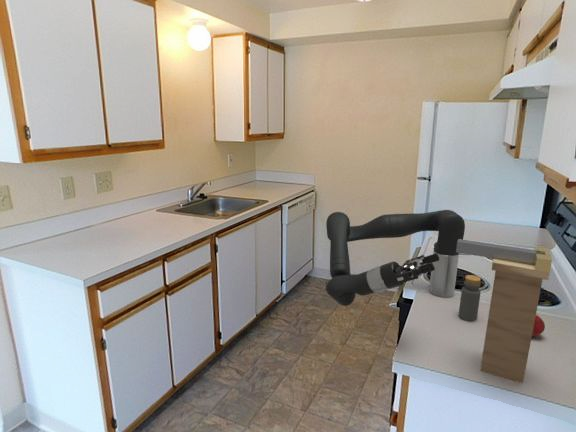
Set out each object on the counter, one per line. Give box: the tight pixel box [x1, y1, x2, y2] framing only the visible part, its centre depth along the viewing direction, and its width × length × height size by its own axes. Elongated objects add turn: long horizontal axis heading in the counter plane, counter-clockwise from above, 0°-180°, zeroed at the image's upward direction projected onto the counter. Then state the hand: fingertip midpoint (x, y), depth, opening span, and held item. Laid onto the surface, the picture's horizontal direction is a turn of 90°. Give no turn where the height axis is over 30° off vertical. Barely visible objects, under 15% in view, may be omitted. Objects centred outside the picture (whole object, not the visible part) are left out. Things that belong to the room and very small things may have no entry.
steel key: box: [456, 238, 553, 272], centre depth 98 cm, size 10×21×3 cm, turn 60°
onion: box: [532, 313, 546, 337], centre depth 119 cm, size 6×6×8 cm
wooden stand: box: [480, 258, 551, 384], centre depth 100 cm, size 10×12×32 cm
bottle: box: [458, 274, 482, 322], centre depth 129 cm, size 6×6×15 cm
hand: (436, 261), depth 107 cm, fingers open, 8 cm apart
